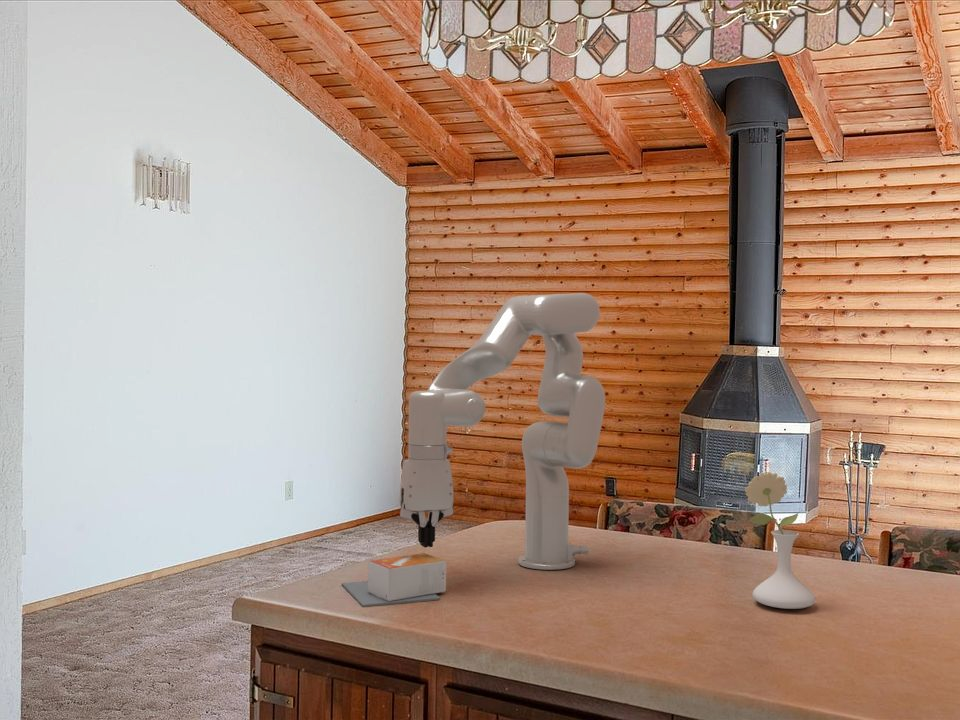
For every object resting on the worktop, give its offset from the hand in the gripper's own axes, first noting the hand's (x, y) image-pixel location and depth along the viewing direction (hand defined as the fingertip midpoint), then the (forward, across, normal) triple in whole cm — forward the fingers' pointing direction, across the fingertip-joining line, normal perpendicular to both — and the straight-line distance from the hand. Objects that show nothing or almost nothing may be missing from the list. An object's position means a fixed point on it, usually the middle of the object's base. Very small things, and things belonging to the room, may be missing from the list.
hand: (426, 545), depth 187 cm
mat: (+9, +8, 0) cm, 11 cm away
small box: (+5, -2, +1) cm, 5 cm away
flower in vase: (+9, -59, +33) cm, 68 cm away
